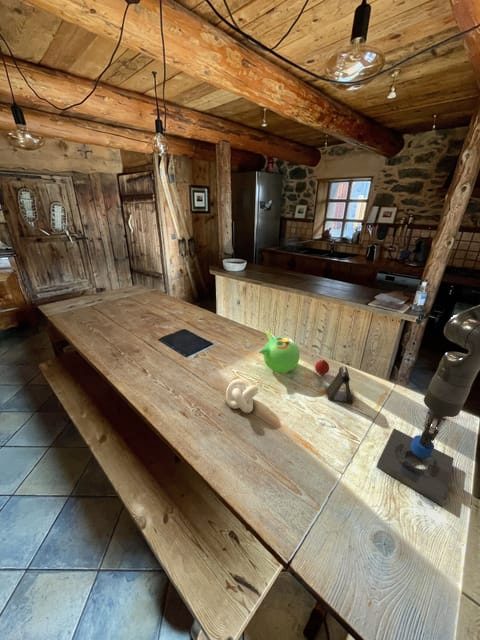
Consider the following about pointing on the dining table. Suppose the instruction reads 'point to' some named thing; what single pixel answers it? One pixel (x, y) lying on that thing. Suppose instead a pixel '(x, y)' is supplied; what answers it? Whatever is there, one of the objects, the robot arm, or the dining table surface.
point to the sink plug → (421, 448)
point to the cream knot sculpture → (240, 395)
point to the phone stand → (335, 386)
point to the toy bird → (280, 353)
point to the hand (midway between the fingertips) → (424, 441)
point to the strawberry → (322, 367)
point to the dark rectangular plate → (422, 480)
